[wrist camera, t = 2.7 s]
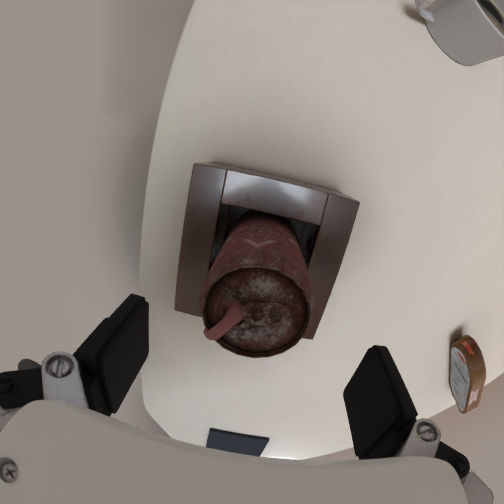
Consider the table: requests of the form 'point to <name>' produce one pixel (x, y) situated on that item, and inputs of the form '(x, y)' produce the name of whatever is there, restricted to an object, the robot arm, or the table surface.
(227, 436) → the mat
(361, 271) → the table surface
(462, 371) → the tin
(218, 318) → the can
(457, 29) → the mug
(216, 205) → the holder
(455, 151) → the table surface
